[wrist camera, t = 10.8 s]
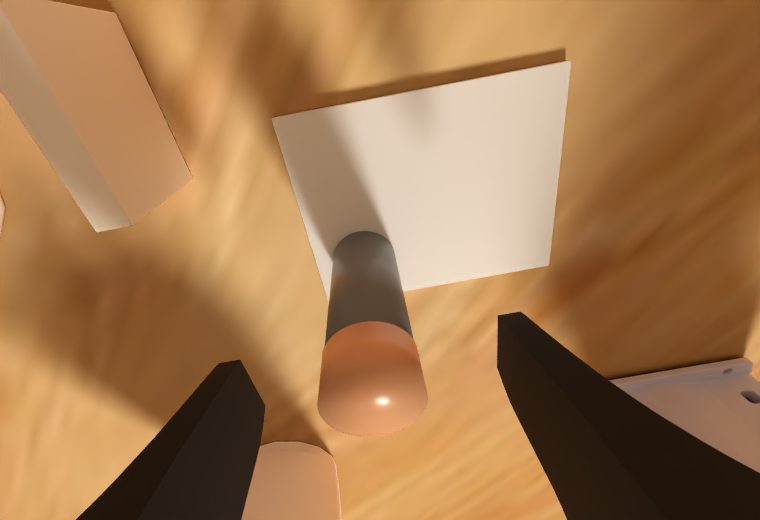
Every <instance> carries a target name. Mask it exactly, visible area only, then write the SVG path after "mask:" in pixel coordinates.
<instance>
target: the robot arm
mask: <svg viewBox="0 0 760 520" xmlns="http://www.w3.org/2000/svg"><path fill="white" fill-rule="evenodd" d="M753 366H754V364H753V362H751V361H750V360H749V359H747V358H738V359H732V360H726V361H720V362H714V363H708V364H702V365H696V366H691V367H685V368H679V369H673V370H667V371H661V372H655V373H649V374H643V375H637V376H631V377H626V378H620V379H614V380H608V379H606V378H605V377H603V376H602V375H601V374H599V373H598V372H597V371H595V370H594V369H593V368H591V367H590V366H589V365H587V364H586V363H585V362H583V361H582V360H581V359H579V358H578V357H577V356H575V355H574V354H573V353H571V352H570V351H569V350H568V349H566V348H565V347H564V346H562V345H561V344H560V343H559V342H557V341H556V340H555V339H554V338H552V337H551V336H550V335H549V334H548V333H546V332H545V331H544V330H543V329H541V328H540V327H539V326H538V325H537V324H535V323H534V322H533V321H532V320H530V319H529V318H528V317H527V316H526V315H524V314H523V313H522V312H516V313H510V314H504V315H498V348H497V368H498V371H499V374H500V376H501V379H502V382H503V385H504V387H505V390H506V393H507V395H508V398H509V400H510V403H511V405H512V407H513V409H514V411H515V413H516V415H517V417H518V419H519V421H520V423H521V425H522V427H523V429H524V431H525V433H526V435H527V437H528V439H529V441H530V443H531V445H532V447H533V449H534V451H535V453H536V455H537V457H538V459H539V461H540V463H541V465H542V467H543V469H544V471H545V473H546V475H547V477H548V479H549V481H550V483H551V485H552V487H553V489H554V491H555V493H556V495H557V497H558V500H559V502H560V504H561V506H562V508H563V511H564V513H565V515H566V518H567V520H760V382H759V381H757V380H756V379H755V378H754V377H752V376H751V375H750V374H749V373H750V372H751V370H752V368H753ZM264 413H265V404H264V403H263V401H262V399H261V397H260V395H259V393H258V392H257V390H256V388H255V386H254V384H253V382H252V380H251V379H250V377H249V375H248V373H247V371H246V369H245V368H244V366H243V364H242V362H241V360H236V361H230V362H224V363H219V364H218V365H217V366H216V367H215V368H214V369H213V370H212V372H211V373H210V374H209V375H208V376H207V377H206V378H205V380H204V381H203V382H202V383H201V384H200V385H199V387H198V388H197V389H196V390H195V391H194V392H193V394H192V395H191V396H190V397H189V398H188V400H187V401H186V402H185V403H184V404H183V405H182V407H181V408H180V409H179V410H178V411H177V412H176V414H175V415H174V416H173V417H172V418H171V419H170V420H169V422H168V423H167V424H166V425H165V426H164V427H163V428H162V430H161V431H160V432H159V433H158V434H157V435H156V437H155V438H154V439H153V440H152V441H151V442H150V443H149V444H148V445H147V446H146V447H145V449H144V450H143V451H142V452H141V453H140V454H139V455H138V456H137V457H136V458H135V459H134V460H133V462H132V463H131V464H130V465H129V466H128V467H127V468H126V469H125V470H124V471H123V472H122V473H121V475H120V476H119V477H118V478H117V479H116V480H115V481H114V482H113V483H112V484H111V485H110V486H109V487H108V488H107V489H106V490H105V491H104V492H103V493H102V494H101V495H100V496H99V497H98V498H97V499H96V500H95V501H94V502H93V503H92V504H91V505H90V506H89V507H88V508H87V509H86V510H85V511H84V512H83V513H82V514H81V515H80V516H79V517H78V518H77V519H76V520H241V519H242V515H243V511H244V507H245V503H246V499H247V496H248V492H249V488H250V484H251V480H252V476H253V472H254V468H255V464H256V460H257V456H258V452H259V448H260V443H261V436H262V430H263V422H264Z"/></svg>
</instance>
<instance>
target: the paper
mask: <svg viewBox="0 0 760 520" xmlns="http://www.w3.org/2000/svg"><path fill="white" fill-rule="evenodd" d="M570 70H571V61H562V62H556V63H551V64H546V65H541V66H536V67H531V68H525V69H520V70H515V71H510V72H505V73H500V74H494V75H489V76H484V77H479V78H474V79H469V80H464V81H458V82H453V83H448V84H443V85H438V86H433V87H427V88H422V89H417V90H412V91H407V92H402V93H397V94H391V95H386V96H381V97H376V98H371V99H366V100H360V101H355V102H350V103H345V104H340V105H335V106H330V107H324V108H319V109H314V110H309V111H304V112H299V113H293V114H288V115H283V116H278V117H273V118H272V119H271V120H272V123H273V126H274V129H275V133H276V136H277V139H278V142H279V145H280V148H281V152H282V155H283V158H284V161H285V164H286V168H287V171H288V174H289V177H290V180H291V183H292V187H293V190H294V193H295V196H296V199H297V203H298V206H299V209H300V212H301V215H302V219H303V222H304V225H305V228H306V231H307V234H308V238H309V241H310V244H311V247H312V250H313V254H314V257H315V260H316V263H317V266H318V269H319V273H320V276H321V279H322V282H323V285H324V289H325V292H326V295H327V298H328V301H329V297H330V286H331V275H332V265H333V254H334V250H335V248H336V246H337V244H338V243H339V242H340V241H341V240H342V239H343V238H344V237H346V236H347V235H349V234H351V233H354V232H358V231H371V232H375V233H378V234H380V235H382V236H383V237H385V238H386V239H387V240H388V241H389V242H390V243H391V245H392V247H393V249H394V253H395V257H396V262H397V266H398V271H399V275H400V280H401V285H402V289H403V291H409V290H415V289H420V288H426V287H431V286H437V285H442V284H448V283H454V282H459V281H465V280H470V279H476V278H482V277H487V276H493V275H498V274H504V273H510V272H515V271H521V270H526V269H532V268H538V267H543V266H549V262H550V253H551V244H552V235H553V225H554V216H555V207H556V198H557V189H558V180H559V170H560V161H561V152H562V143H563V134H564V125H565V115H566V106H567V97H568V88H569V79H570Z"/></svg>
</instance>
